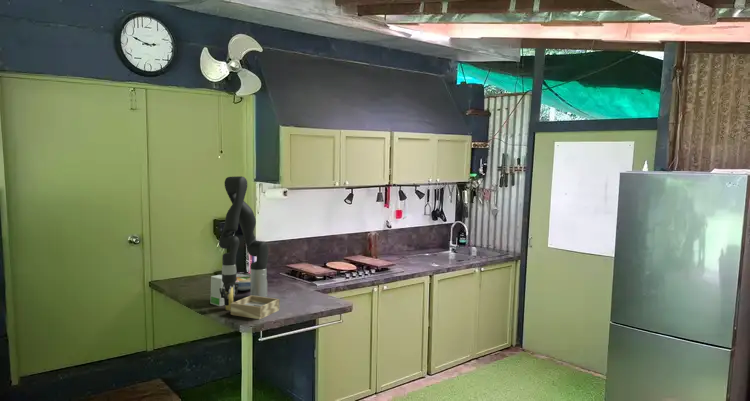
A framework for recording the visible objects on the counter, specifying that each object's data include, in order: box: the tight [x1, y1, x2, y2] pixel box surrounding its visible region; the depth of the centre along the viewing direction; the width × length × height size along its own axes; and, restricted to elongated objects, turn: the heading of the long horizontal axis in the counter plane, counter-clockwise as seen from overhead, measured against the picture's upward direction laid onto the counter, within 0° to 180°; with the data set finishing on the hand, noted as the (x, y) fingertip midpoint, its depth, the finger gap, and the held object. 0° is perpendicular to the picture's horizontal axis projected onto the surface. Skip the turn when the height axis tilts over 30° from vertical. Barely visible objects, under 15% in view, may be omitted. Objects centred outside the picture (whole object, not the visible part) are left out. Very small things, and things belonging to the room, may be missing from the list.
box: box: [230, 295, 281, 320], centre depth 275 cm, size 18×18×6 cm
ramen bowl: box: [235, 272, 269, 292], centre depth 323 cm, size 25×23×8 cm
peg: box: [224, 287, 233, 311], centre depth 279 cm, size 4×4×12 cm
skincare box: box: [210, 274, 225, 307], centre depth 289 cm, size 8×7×16 cm
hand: (229, 304), depth 280 cm, fingers closed on peg, 4 cm apart
